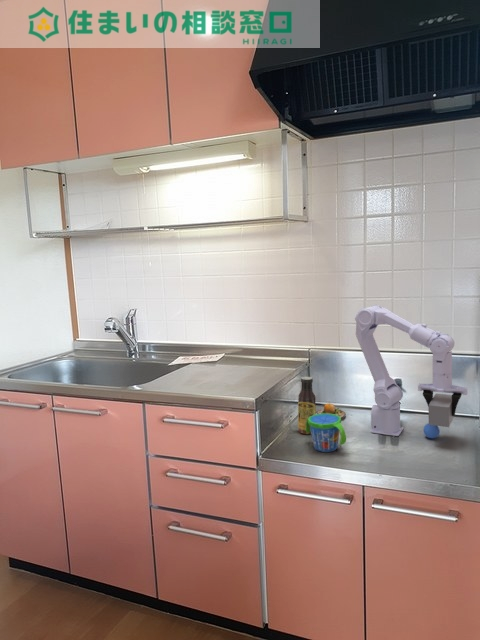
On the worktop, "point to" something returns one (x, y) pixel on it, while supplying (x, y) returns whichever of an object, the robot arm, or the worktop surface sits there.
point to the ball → (431, 431)
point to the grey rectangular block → (441, 410)
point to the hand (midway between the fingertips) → (442, 413)
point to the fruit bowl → (332, 411)
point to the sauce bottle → (305, 403)
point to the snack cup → (325, 431)
